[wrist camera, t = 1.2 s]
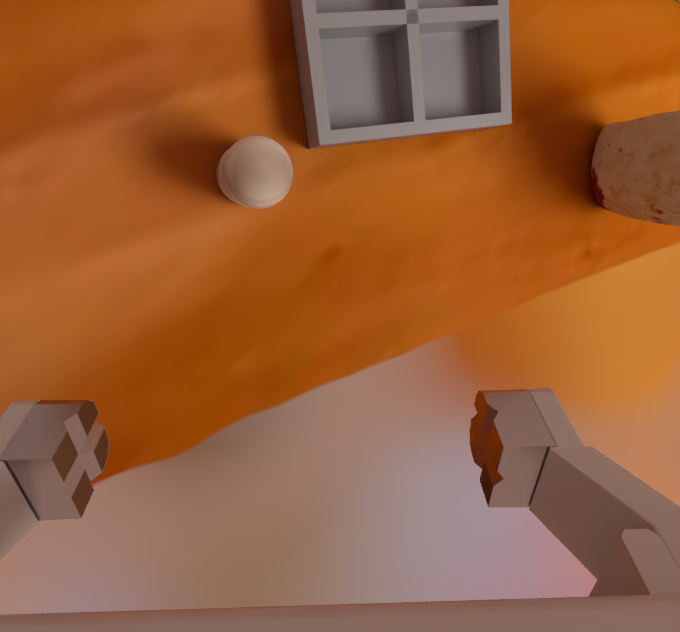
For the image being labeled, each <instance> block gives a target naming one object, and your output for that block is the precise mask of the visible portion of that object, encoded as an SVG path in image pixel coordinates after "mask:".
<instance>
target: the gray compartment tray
mask: <svg viewBox="0 0 680 632" xmlns="http://www.w3.org/2000/svg"><path fill="white" fill-rule="evenodd" d="M289 5H290V12H291V20H292V27H293V35H294V43H295V50H296V58H297V65H298V73H299V81H300V88H301V96H302V103H303V111H304V119H305V126H306V134H307V141H308V149H313V148H322V147H331V146H340V145H348V144H357V143H366V142H375V141H384V140H392V139H401V138H410V137H419V136H428V135H437V134H445V133H454V132H463V131H472V130H481V129H488V128H493V127H498V126H503V125H508V124H512V105H511V64H510V24H509V0H289Z"/></svg>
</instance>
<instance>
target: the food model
mask: <svg viewBox="0 0 680 632" xmlns="http://www.w3.org/2000/svg"><path fill="white" fill-rule="evenodd" d="M591 178H592V186H593V192H594V196H595V198H596V200H597V202H598V203H599V204H600V205H601V206H602V207H603V208H604V209H607V210H609V211H611V212H614V213H616V214H619V215H623V216H626V217H630V218H635V219H639V220H645V221H650V222H655V223H660V224H666V225H673V226H680V111H676V112H668V113H662V114H655V115H651V116H647V117H643V118H639V119H635V120H631V121H624V122H615V123H611V124H609V125H606V126H605V127H604V128H603V129H602V131H601V132H600V134H599V137H598V140H597V143H596V146H595V149H594V154H593V159H592V167H591Z"/></svg>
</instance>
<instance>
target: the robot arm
mask: <svg viewBox="0 0 680 632" xmlns="http://www.w3.org/2000/svg"><path fill="white" fill-rule="evenodd" d="M474 405H475V407H476V411H477V415H476V416H475V417H473V418H472V419H471V425H470V447H471V452H472V456H473V459H474V462H475V463H476V464H477V465H478V466H479V467H480V468H482V472H481V477H480V482H481V486H482V489H483V492H484V495H485V498H486V501H487V504H488V507H530V508H529V510H530V511H531V512H532V513H533V514H534V515H535V516H537V518H538V519H539V520H540V521H541V522H542V523H543V524H544V525H545V526H546V527H547V528H548V529H549V530H550V531H551V532H552V533H553V534H554V535H555V536H556V537H557V538H558V539H559V540H560V542H562V543H563V544H564V546H565V547H566V548H567V549H568V550H570V552H571V553H572V554H573V555H574V556H575V557H576V558H577V559H578V560H579V561H580V562H581V563H582V564H583V565H584V566H585V567H586V568H587V569H588V570H589V571H590V572H591V573H592V574H593V576H594V577H595V578H596V579H597V582H596V583H595V585H594V587H593V589H592V591H591V593H590V595H589V597H566V598H534V599H501V600H469V601H437V602H436V601H435V602H404V603H372V604H339V605H306V606H276V607H275V606H273V607H244V608H243V607H242V608H211V609H210V608H209V609H178V610H144V611H112V612H79V613H46V614H12V615H0V632H680V507H679V506H678V505H676V504H675V503H673V502H672V501H671V500H669V499H668V498H666V497H665V496H663V495H661V494H660V493H659V492H657V491H656V490H654V489H653V488H651V487H650V486H649V485H647V484H646V483H644V482H643V481H641V480H640V479H638V478H637V477H635V476H634V475H632V474H631V473H629V472H628V471H627V470H625V469H624V468H622V467H621V466H619V465H618V464H616V463H615V462H613V461H612V460H611V459H609V458H608V457H606V456H605V455H603V454H602V453H600V452H599V451H597V450H596V449H594V448H593V447H584V445H583V443H582V442H581V440H580V438H579V436H578V434H577V433H576V431H575V429H574V428H573V426H572V424H571V422H570V420H569V418H568V416H567V415H566V413H565V411H564V409H563V407H562V406H561V404H560V402H559V400H558V399H557V397H556V395H555V393H554V391H552V390H551V389H549V388H542V389H525V390H523V389H519V390H489V391H478V393H477V395H476V399H475V404H474ZM98 414H99V413H98V410H97V408H96V406H95V404H94V402H92V401H89V400H41V401H16V402H14V403H12V404H10V405H9V407H8V408H7V409H6V411H5V412H4V414H3V415H2V416H1V418H0V559H1V558H2V557H3V556H5V554H7V552H9V551H10V550H11V549H12V548H13V547H14V546H15V545H16V544H17V543H18V542H19V541H20V540H21V539H22V538H24V537H25V536H26V535H27V534H28V533H29V532H30V531H31V530H32V529H33V528H34V527H35V526H36V525H37V524H38V523H39V521H40V520H58V519H77V518H82V516H83V513H84V511H85V509H86V507H87V504H88V502H89V500H90V498H91V495H92V493H93V491H94V489H93V486H92V484H91V480H93V479H94V478H95V477H96V476H98V475H99V474H100V473H101V472H102V471H103V468H104V466H105V463H106V461H107V456H108V449H109V444H108V436H107V433H106V431H105V428H104V427H102V426H101V425H100V424H98V423H97V422H95V420H96V418H97V416H98Z"/></svg>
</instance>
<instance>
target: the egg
mask: <svg viewBox="0 0 680 632" xmlns="http://www.w3.org/2000/svg"><path fill="white" fill-rule="evenodd" d="M216 180H217V183H218V186H219V188H220V190H221V192H222V193H223V194H224V195H225V196H226V197H227V198H228V199H229V200H231V201H232V202H234V203H236V204H239V205H243V206H247V207H251V208H267V207H270V206H273V205H275V204H277V203H278V202H280V201H281V200H282V199H283V198H284V197H285V196H286V195H287V193H288V191H289V190H290V187H291V184H292V180H293V167H292V163H291V160H290V158H289V155H288V154H287V152H286V151H285V150H284V148H283V147H282V146H281V145H280V144H278V143H277V142H276V141H274V140H272V139H270V138H267V137H264V136H249V137H245V138H243V139H240V140H239V141H237V142H236V143H234V144H233V145H232V146H231V147H230V148H229V149H228V150H227V151H226V152H225V153H224V154H223V155H222V156H221V158H220V159H219V161H218V164H217V168H216Z"/></svg>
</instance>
